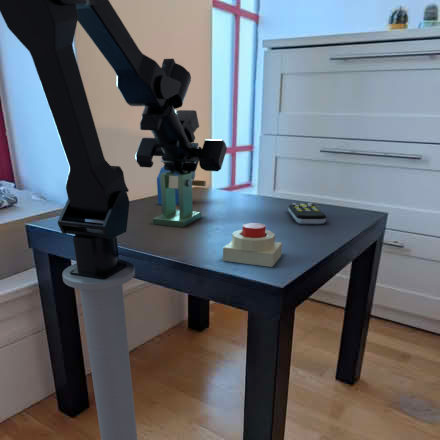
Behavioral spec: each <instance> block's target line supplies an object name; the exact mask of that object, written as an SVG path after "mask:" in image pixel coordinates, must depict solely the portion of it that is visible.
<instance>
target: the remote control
mask: <svg viewBox="0 0 440 440" xmlns="http://www.w3.org/2000/svg"><path fill="white" fill-rule="evenodd" d="M288 213H289V214H290V215H291V216H292V218H293V220H294V221H295V222H296V223H297V224H300V225H323V224H325V223H326V222H327V216H326V214H325V213H324V212H323V211H321V210H320V209H319V208H318V207H317V206H316V205H315V204H313V203H312V202H308V203H295V202H293V203H291V204H289V205H288Z"/></svg>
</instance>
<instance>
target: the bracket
mask: <svg viewBox="0 0 440 440" xmlns="http://www.w3.org/2000/svg"><path fill="white" fill-rule="evenodd" d="M169 176H174V172H172V171H170V172H166V173H163V174H160V179H161V198H162V204H161V214H160V215H157V216H155V217H153V218H152V224H153V225H160V226H167V227H168V226H169V227H178V228H185V227H186V226H187V227H188V226H189V225H190V224H192V223H194V222H196V221H197V220H199V219H201V218H202V212H201V211H195V210H193V186H192V173H189V172H187V173H184V174H181V175H178V187H179V204H178V209H177V207H176V206H177V204H176V203H175V188H169Z"/></svg>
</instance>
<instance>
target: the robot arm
mask: <svg viewBox="0 0 440 440" xmlns="http://www.w3.org/2000/svg"><path fill="white" fill-rule="evenodd" d="M0 14H1V17H2V18H3V21H4V23H5V25H6V27H7V28H8V30H9V32H11V33H12V34H13V35H14V36H15V38H16V39H17V40H18V41H19V43H21V45H22V46H23V47H24V48H25V49H26V50H27V51H28V52H29V54H30V56H31V59H32V61H33V65H34V67H35V70H36V72H37V77H38V80H39V82H40V84H41V88H42V91H43V93H44V96H45V99H46V102H47V105H48V107H49V111H50V114H51V116H52V119H53V122H54V124H55V129H56V131H57V135H58V137H59V141H60V143H61V146H62V149H63V151H64V152H63V153H64V154H65V158H66V161H67V163H68V167H69V170H68V173H67V177H66V182H65V190H66V191H65V192H66V196H67V200H66V202H65V205H64V206H63V208H62V211H61V213H60V216H59V218H58V220H57V225H58V227H59V230H60V233H62V234H64V235H68V234H69V235H74V236H72V241H73V247H74V254H75V255H74V256H75V262H76V263H77V268H75V269H73V270H71V271H70V274H71V275H76V276H82V277H88V278H94V279H101V280H105V279H107V278H109V277H110V276H112V275H114V274H115V273H117V272H119V271H121V270H122V269H124V268H126V267H127V264H126V263H120V262H118V261H119V260H120V257H119V256H120V255H119V245H118V238H117V237H118V236H121V235H123V234H124V233H127V230H128V222H129V221H128V219H129V213H130V212H129V211H130V198H129V195H128V193H129V192H130V190H129V188H128V186H127V184H126V181H125V175H124V171H123V169H122V167H121V166H120V165H111V164H110V163H109V162H108V161H107V160H106V159H105V155H104V151H103V149H102V144H101V142H100V138H99V135H98V131H97V128H96V124H95V121H94V117H93V113H92V110H91V105H90V104H89V99H88V96H87V92H86V89H85V87H84V82H83V79H82V75H81V71H80V68H79V65H78V61H77V59H76V58H77V57H76V54H75V51H74V45H73V44H74V41H75V40H74V39H75V35H76V29H77V25H78V23H79V25H80V26H81V28H82V29H83V30H84V32H85V33H86V34H87V36H88V37H89V38H90V39H91V41H92V42H93V44H94V45H95V47H96V48H97V49H98V51H99V52H100V54H102V56H103V57H104V58H105V60H106V61H107V63H108V64H109V65H110V66H111V68H112V70H113V71H114V73H115V74H116V87H117V88H118V91H119V92H120V94H121V96H122V98H123V99H124V101H125V103H126V104H127V105H128V106H130V107H144V108H143V110H142V113H141V119H140V122H139V129H140V131H150V132H151V133H152V136H153V137H142V138H141V140H140V141H139V145H138V147H137V150H136V153H135V154H134V157H135V161H136V163H137V164H138V166H139V167H140V168H152V167H153V166H154V162H153V158H154V157H161V159H160V162H161V163H163V166H164V169H165V170H169V171H172V172H174V173H176V174H179V175H181V174H184V173H187V172H189V173H192V180H195V178H196V171H197V169H198V165H199V167H200V169H201V170H204V171H205V172H219V171H220V170H222V166H223V163H224V160H225V157H226V153H227V150H228V147H227V144H226V142H225V140H224V139H209V138H208V139H204V142H203V144H202V146H199V145H200V144H199V142H195V140H196V136H195V132H196V131H197V129H199V128H200V123H199V118H198V113H197V110H194V109H179V108H182V107H183V104H184V102H185V99H186V95H187V93H188V90H189V88H190V84H191V81H192V75H191V72H190V71H188V70H187V69H186V67H184V66H183V65H181V64H179V63H177V62H176V60H175V58H164V59H163V61H162V63H161V66H160V65H159V64H158V62H157V61H156V60H154V59H153V58H152V57H149V56H148V55H146V54H145V53H143V52H142V51H141V50H140V48H139V46H138V45H137V43H136V42H135V40H134V38H133V37H132V35H131V33H130V32H129V31H128V29H127V27H126V26H125V24H124V23H123V20H122V19H121V18H120V16H119V14H118V13H117V11H116V9H115V8H114V7H113V5H112V3H111V2H110V0H0ZM177 109H179V110H177ZM86 220H87V221H86ZM93 221H97V222H93ZM102 222H103V223H102ZM76 263H75V264H76Z"/></svg>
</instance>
